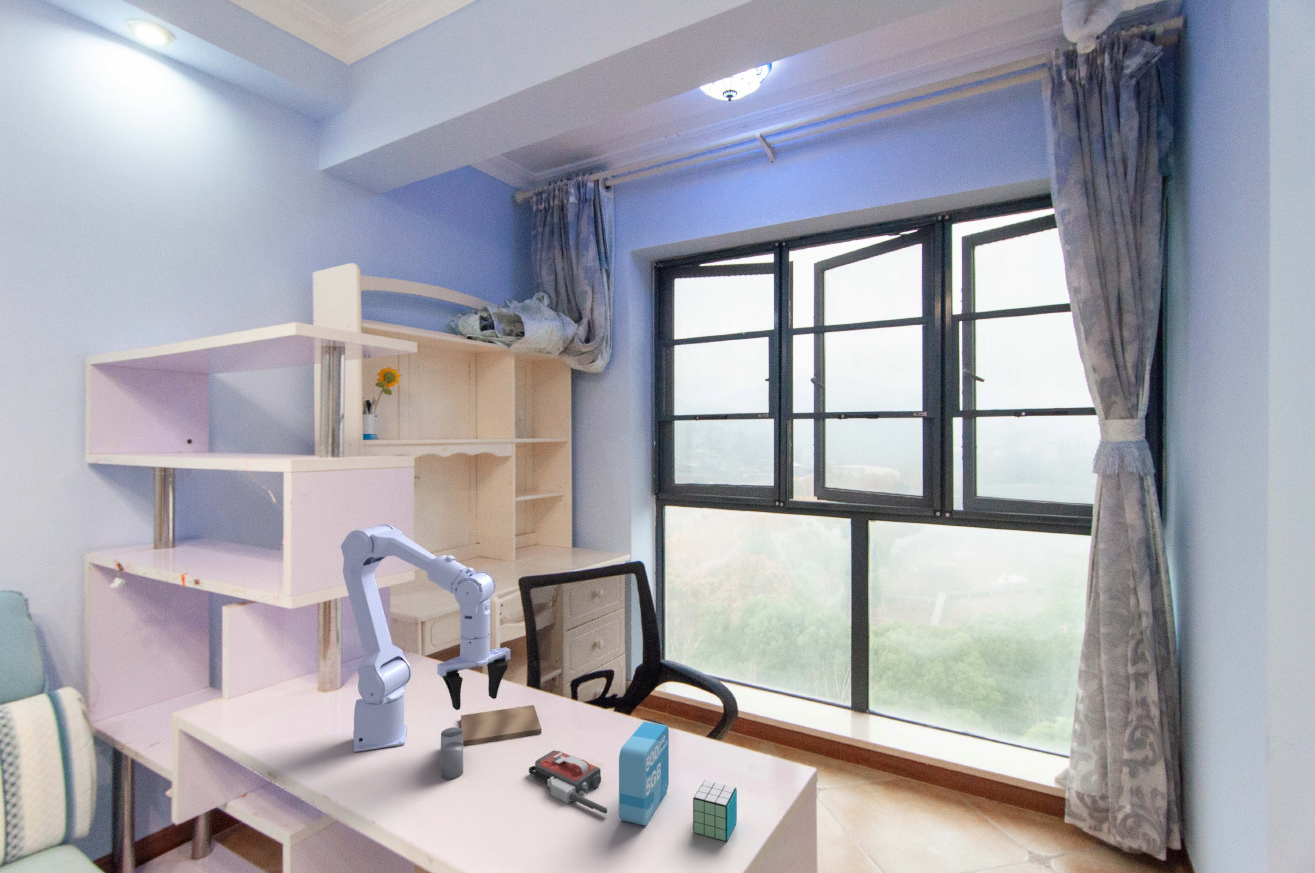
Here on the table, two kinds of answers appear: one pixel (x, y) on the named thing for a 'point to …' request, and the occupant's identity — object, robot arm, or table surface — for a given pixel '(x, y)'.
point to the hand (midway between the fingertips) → (474, 702)
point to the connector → (451, 753)
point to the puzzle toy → (715, 810)
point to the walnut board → (499, 725)
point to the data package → (643, 772)
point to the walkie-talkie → (568, 777)
